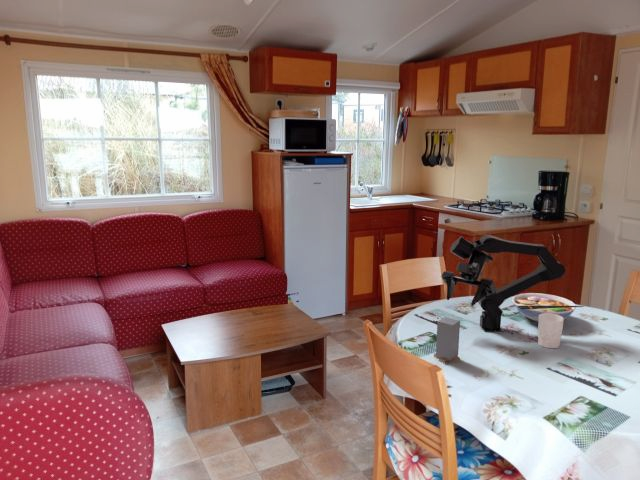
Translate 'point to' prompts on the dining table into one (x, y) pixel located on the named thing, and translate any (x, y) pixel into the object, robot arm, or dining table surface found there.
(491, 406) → the dining table surface
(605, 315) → the dining table surface
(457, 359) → the post plinth
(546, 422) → the dining table surface
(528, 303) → the ramen bowl
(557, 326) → the white cup
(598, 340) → the dining table surface
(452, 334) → the tall grey pillar
